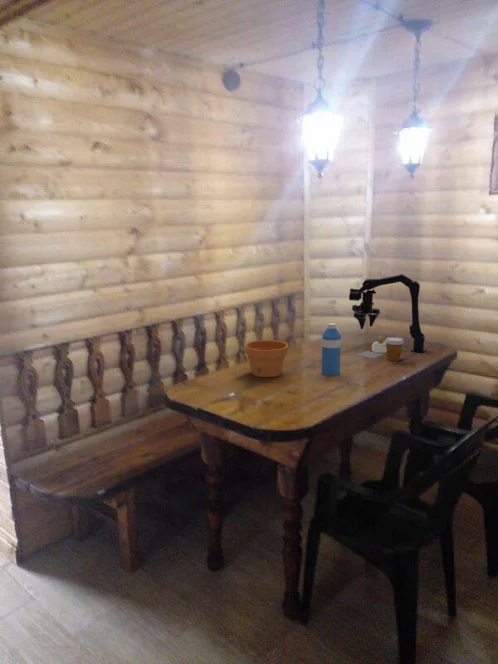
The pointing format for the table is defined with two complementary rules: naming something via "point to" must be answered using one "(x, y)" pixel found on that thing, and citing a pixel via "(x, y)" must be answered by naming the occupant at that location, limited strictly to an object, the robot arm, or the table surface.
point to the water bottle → (331, 351)
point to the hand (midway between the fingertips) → (366, 327)
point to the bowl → (379, 349)
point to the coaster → (370, 354)
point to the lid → (380, 342)
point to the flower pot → (266, 357)
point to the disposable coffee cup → (394, 348)
